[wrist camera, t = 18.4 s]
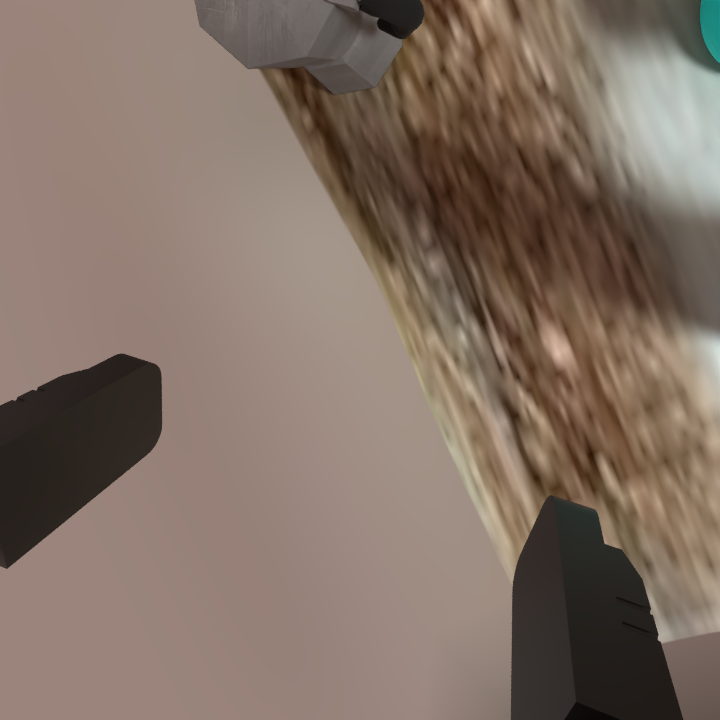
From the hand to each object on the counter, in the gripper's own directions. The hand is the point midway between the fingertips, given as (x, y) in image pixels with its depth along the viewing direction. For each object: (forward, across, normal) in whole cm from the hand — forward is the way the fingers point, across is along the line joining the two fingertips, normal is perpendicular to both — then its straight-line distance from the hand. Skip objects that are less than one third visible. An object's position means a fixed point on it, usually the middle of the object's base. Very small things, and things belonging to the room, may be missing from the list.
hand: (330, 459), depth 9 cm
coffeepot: (+36, +13, -12) cm, 40 cm away
